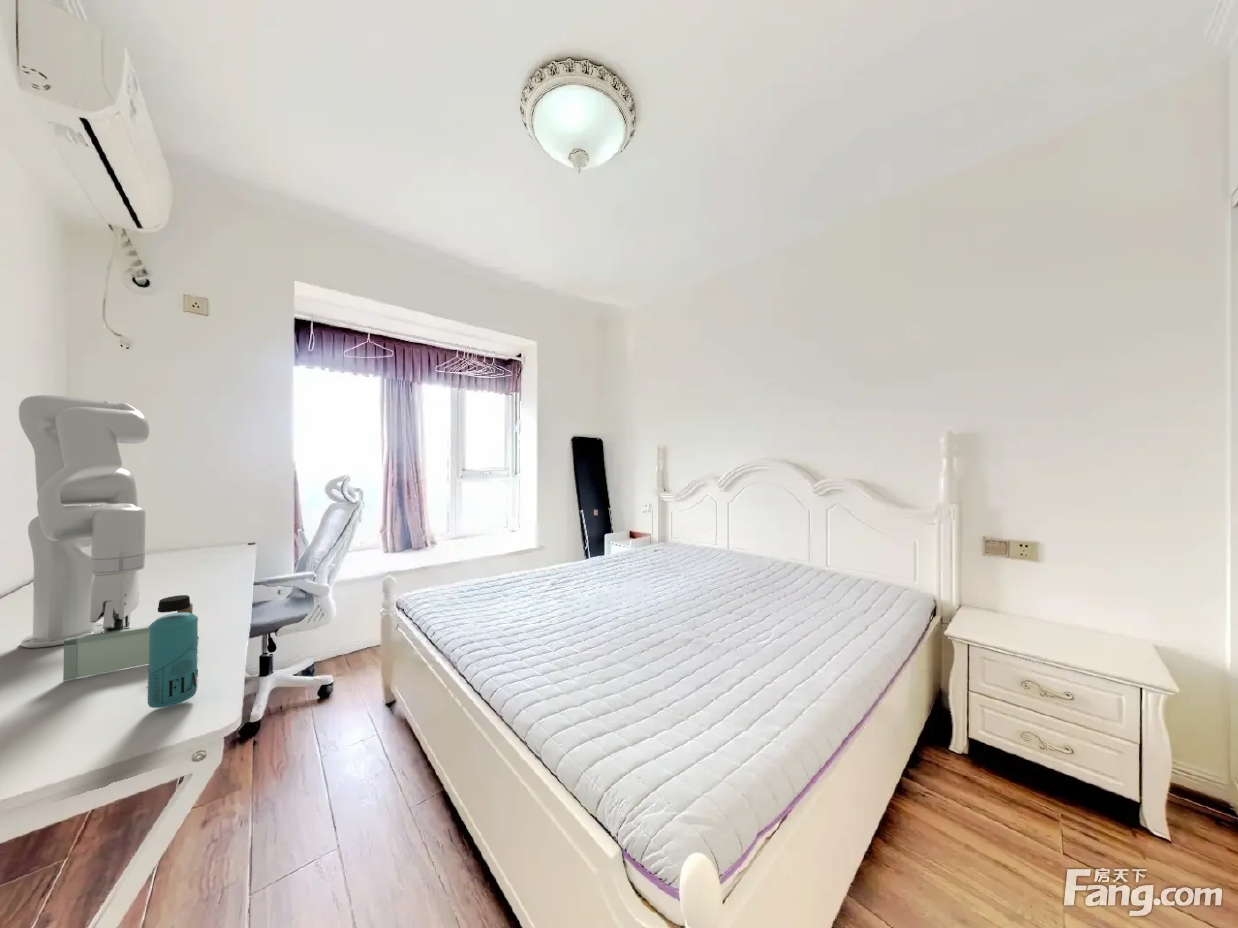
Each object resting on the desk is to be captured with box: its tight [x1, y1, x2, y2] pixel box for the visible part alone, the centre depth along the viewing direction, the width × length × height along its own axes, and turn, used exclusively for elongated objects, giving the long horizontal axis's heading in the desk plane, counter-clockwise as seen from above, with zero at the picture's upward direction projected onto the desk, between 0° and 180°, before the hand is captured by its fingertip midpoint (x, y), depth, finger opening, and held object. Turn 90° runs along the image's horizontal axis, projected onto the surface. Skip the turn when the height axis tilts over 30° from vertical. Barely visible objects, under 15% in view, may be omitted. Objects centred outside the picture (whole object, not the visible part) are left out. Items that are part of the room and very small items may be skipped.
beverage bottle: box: [146, 594, 200, 709], centre depth 77 cm, size 6×7×20 cm
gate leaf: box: [62, 624, 151, 682], centre depth 89 cm, size 14×2×8 cm, turn 130°
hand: (116, 648), depth 91 cm, fingers closed
